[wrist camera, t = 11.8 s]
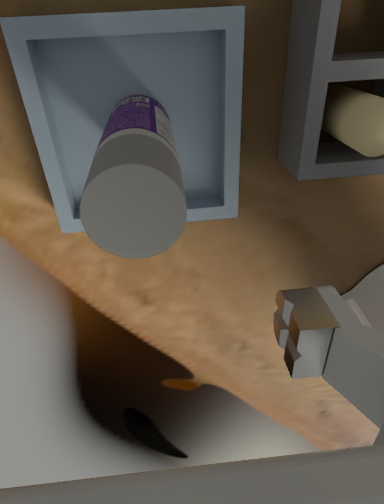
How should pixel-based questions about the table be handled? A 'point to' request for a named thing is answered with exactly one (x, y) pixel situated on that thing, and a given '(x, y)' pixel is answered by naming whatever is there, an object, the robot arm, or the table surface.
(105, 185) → the container
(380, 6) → the table surface
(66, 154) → the tray
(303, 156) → the holder
